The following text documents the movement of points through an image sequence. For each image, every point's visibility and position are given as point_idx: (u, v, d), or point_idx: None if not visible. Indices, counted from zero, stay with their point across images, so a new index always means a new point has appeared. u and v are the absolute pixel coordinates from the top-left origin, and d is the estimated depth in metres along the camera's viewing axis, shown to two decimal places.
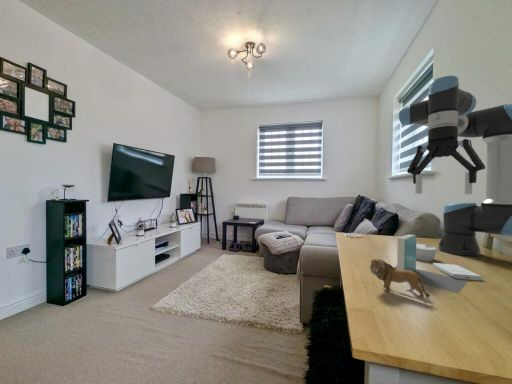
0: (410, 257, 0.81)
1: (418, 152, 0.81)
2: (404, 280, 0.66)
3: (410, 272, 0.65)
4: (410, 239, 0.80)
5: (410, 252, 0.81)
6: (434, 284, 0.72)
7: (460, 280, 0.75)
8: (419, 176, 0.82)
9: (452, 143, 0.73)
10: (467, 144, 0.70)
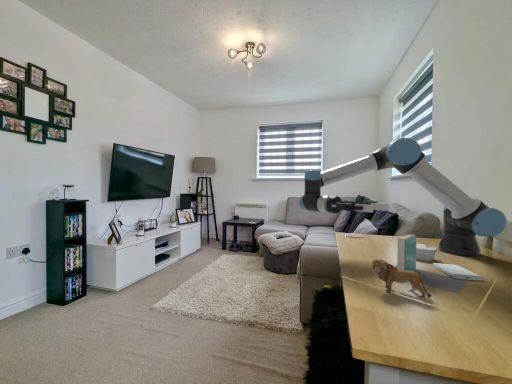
0: (410, 257, 0.81)
1: None
2: (406, 280, 0.66)
3: (412, 272, 0.65)
4: (410, 239, 0.80)
5: (410, 252, 0.81)
6: (434, 284, 0.72)
7: (460, 280, 0.75)
8: None
9: None
10: (335, 208, 0.96)
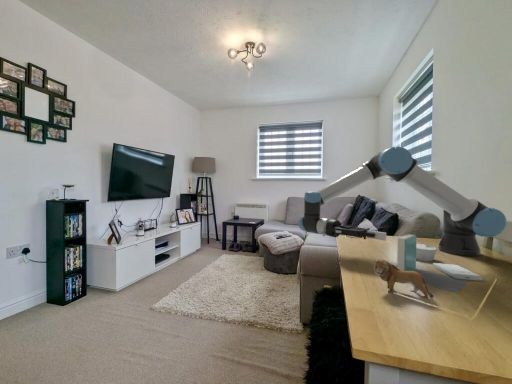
0: (410, 257, 0.81)
1: None
2: (408, 281, 0.65)
3: (414, 273, 0.65)
4: (410, 239, 0.80)
5: (410, 252, 0.81)
6: (434, 284, 0.72)
7: (460, 280, 0.75)
8: None
9: None
10: (340, 234, 0.95)
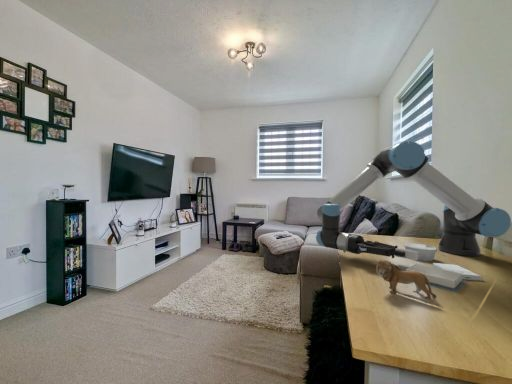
0: None
1: None
2: (411, 281, 0.65)
3: (417, 273, 0.65)
4: None
5: None
6: (434, 284, 0.72)
7: None
8: None
9: None
10: (365, 252, 0.88)
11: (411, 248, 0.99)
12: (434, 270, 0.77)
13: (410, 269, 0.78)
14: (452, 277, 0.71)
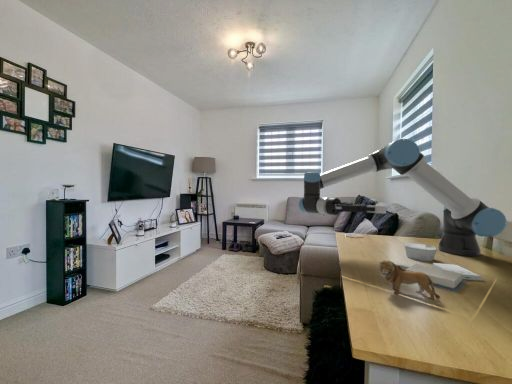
0: None
1: None
2: (414, 282, 0.65)
3: (420, 273, 0.64)
4: None
5: None
6: (434, 284, 0.72)
7: None
8: None
9: None
10: (340, 210, 0.96)
11: (411, 248, 0.99)
12: (434, 270, 0.77)
13: (410, 269, 0.78)
14: (452, 277, 0.71)
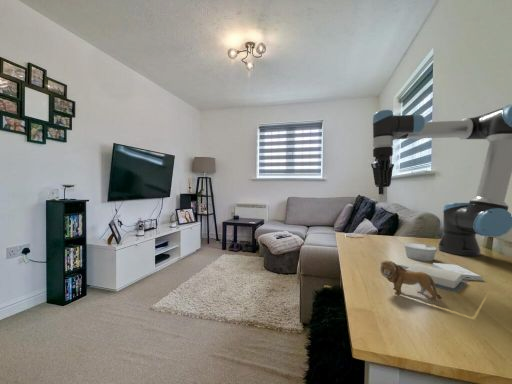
0: None
1: None
2: (416, 282, 0.65)
3: (422, 274, 0.64)
4: None
5: None
6: None
7: None
8: None
9: None
10: (372, 167, 1.01)
11: (411, 248, 0.99)
12: (434, 270, 0.77)
13: (410, 269, 0.78)
14: (452, 277, 0.71)
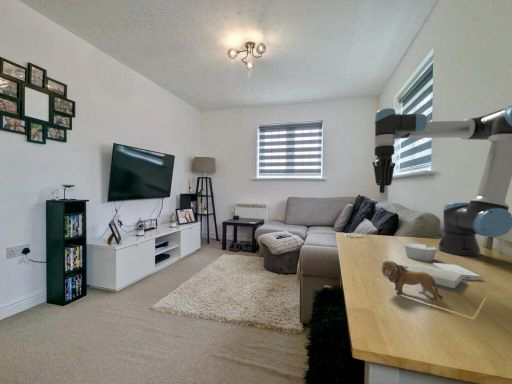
0: None
1: None
2: (417, 282, 0.64)
3: (423, 274, 0.64)
4: None
5: None
6: None
7: None
8: None
9: None
10: (373, 165, 1.01)
11: (411, 248, 0.99)
12: (434, 270, 0.77)
13: (410, 269, 0.78)
14: (452, 277, 0.71)
